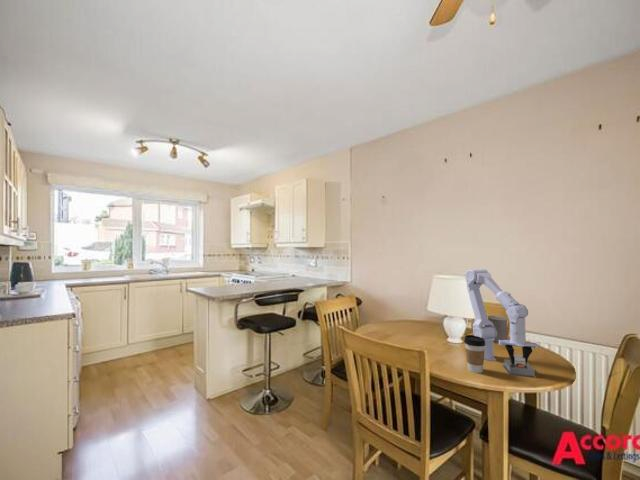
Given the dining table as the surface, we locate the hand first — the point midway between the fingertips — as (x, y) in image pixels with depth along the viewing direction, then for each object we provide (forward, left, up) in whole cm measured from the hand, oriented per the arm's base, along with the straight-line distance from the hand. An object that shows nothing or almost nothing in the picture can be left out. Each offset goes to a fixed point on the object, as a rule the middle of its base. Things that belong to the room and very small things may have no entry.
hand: (518, 362), depth 127 cm
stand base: (0, 0, -4) cm, 4 cm away
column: (0, 0, -4) cm, 4 cm away
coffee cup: (-18, -4, -4) cm, 19 cm away
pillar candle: (+3, +44, -4) cm, 44 cm away
